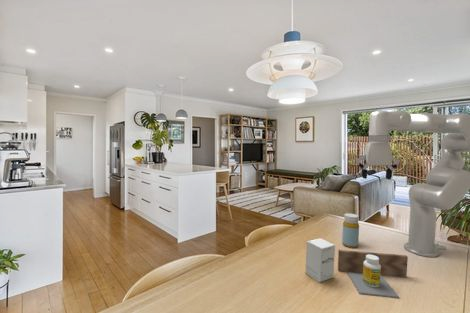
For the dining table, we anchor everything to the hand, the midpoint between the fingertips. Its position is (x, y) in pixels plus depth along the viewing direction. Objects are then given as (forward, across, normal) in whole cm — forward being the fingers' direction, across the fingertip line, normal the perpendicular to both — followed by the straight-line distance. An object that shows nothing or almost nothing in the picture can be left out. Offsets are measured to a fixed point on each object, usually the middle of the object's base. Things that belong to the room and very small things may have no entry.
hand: (376, 178), depth 104 cm
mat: (+34, +10, +25) cm, 44 cm away
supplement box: (+34, +27, +22) cm, 49 cm away
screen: (+34, +7, +17) cm, 39 cm away
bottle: (+34, +7, -8) cm, 36 cm away
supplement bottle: (+34, +10, +25) cm, 43 cm away
